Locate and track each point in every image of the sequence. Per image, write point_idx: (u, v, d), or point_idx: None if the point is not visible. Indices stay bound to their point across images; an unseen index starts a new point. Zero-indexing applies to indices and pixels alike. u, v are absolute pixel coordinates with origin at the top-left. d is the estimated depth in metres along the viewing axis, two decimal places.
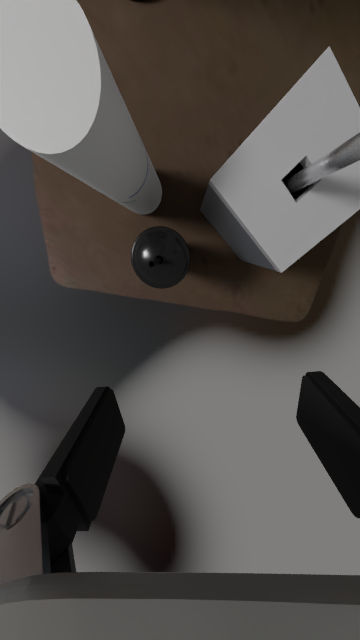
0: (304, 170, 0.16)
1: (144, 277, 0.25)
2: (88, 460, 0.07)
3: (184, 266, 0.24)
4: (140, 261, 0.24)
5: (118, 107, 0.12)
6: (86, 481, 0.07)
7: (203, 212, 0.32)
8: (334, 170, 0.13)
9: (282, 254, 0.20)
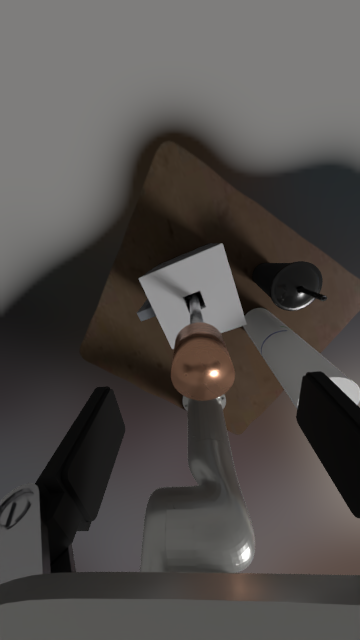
0: None
1: (318, 279, 0.28)
2: (88, 460, 0.07)
3: (282, 274, 0.28)
4: None
5: (292, 375, 0.25)
6: (86, 481, 0.07)
7: None
8: (198, 308, 0.22)
9: (217, 258, 0.24)
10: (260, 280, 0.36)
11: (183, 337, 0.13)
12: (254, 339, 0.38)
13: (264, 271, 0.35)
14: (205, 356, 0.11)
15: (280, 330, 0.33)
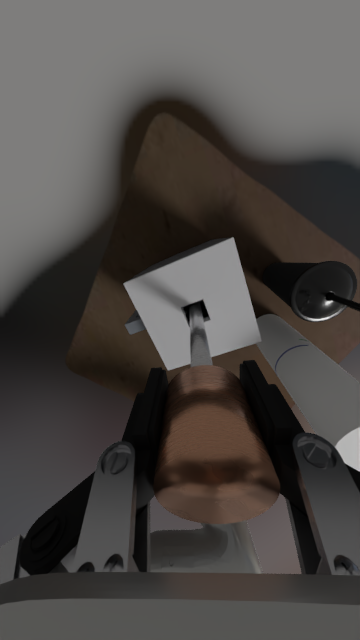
0: None
1: (352, 283, 0.22)
2: (160, 427, 0.08)
3: (306, 277, 0.22)
4: None
5: (323, 410, 0.19)
6: None
7: None
8: (202, 326, 0.16)
9: (226, 257, 0.19)
10: (274, 283, 0.30)
11: (178, 400, 0.08)
12: (266, 352, 0.32)
13: (279, 272, 0.29)
14: (222, 463, 0.05)
15: (299, 344, 0.27)
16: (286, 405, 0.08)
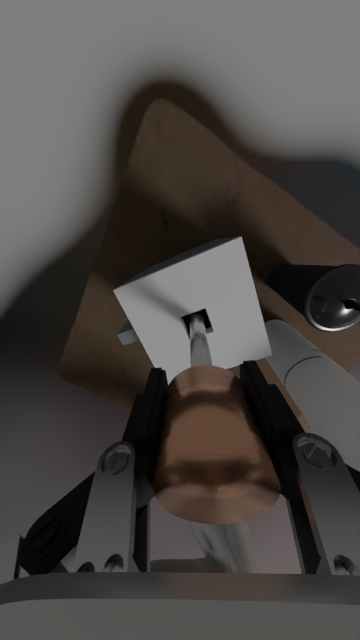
0: None
1: None
2: (160, 427, 0.08)
3: (323, 282, 0.20)
4: None
5: (345, 437, 0.16)
6: None
7: None
8: (202, 326, 0.16)
9: (233, 260, 0.16)
10: (283, 287, 0.27)
11: (178, 400, 0.08)
12: (273, 363, 0.29)
13: (289, 276, 0.26)
14: (222, 464, 0.05)
15: (312, 356, 0.25)
16: (286, 405, 0.08)
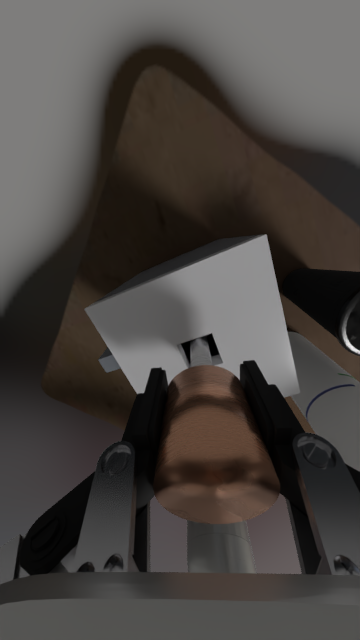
0: None
1: None
2: (160, 427, 0.08)
3: None
4: None
5: None
6: None
7: None
8: None
9: (253, 269, 0.11)
10: (303, 297, 0.22)
11: (178, 400, 0.08)
12: None
13: (311, 284, 0.21)
14: (222, 463, 0.05)
15: (342, 383, 0.20)
16: (286, 405, 0.08)
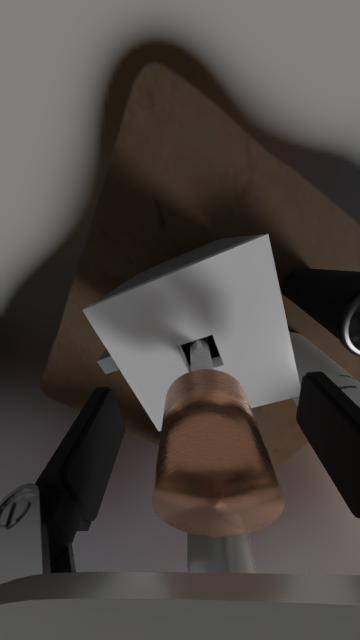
0: None
1: None
2: (88, 460, 0.07)
3: None
4: None
5: None
6: (86, 481, 0.07)
7: None
8: None
9: (254, 269, 0.11)
10: (304, 298, 0.22)
11: (178, 406, 0.07)
12: None
13: (313, 284, 0.21)
14: (224, 476, 0.05)
15: (343, 385, 0.20)
16: None
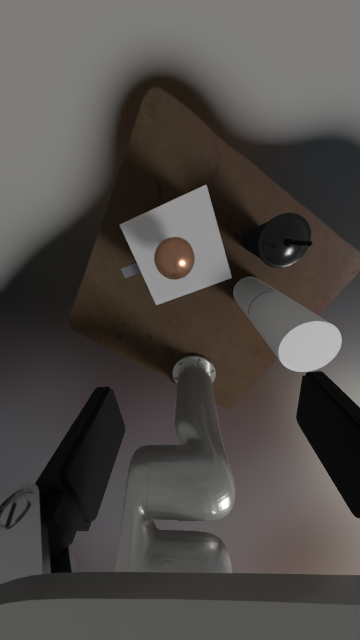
0: None
1: (307, 232, 0.27)
2: (88, 460, 0.07)
3: (270, 227, 0.27)
4: (301, 247, 0.28)
5: (274, 325, 0.24)
6: (86, 481, 0.07)
7: None
8: None
9: (201, 202, 0.23)
10: (250, 241, 0.35)
11: None
12: (242, 304, 0.37)
13: (254, 231, 0.34)
14: (175, 243, 0.18)
15: (268, 291, 0.33)
16: None
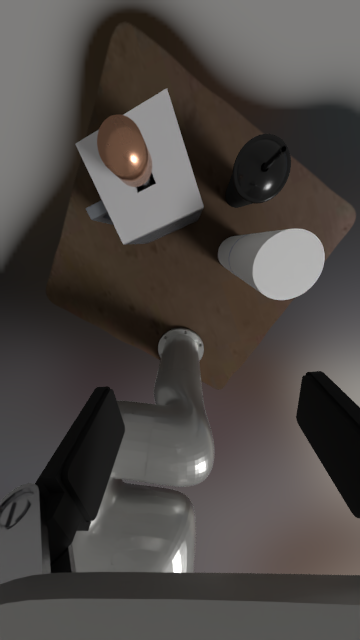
0: None
1: (286, 157, 0.25)
2: (88, 460, 0.07)
3: (244, 151, 0.25)
4: (280, 175, 0.25)
5: (250, 249, 0.22)
6: (86, 481, 0.07)
7: None
8: None
9: (163, 111, 0.21)
10: (229, 186, 0.32)
11: None
12: (224, 257, 0.35)
13: None
14: (119, 123, 0.15)
15: (248, 234, 0.30)
16: None
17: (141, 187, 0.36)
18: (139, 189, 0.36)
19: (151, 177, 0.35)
